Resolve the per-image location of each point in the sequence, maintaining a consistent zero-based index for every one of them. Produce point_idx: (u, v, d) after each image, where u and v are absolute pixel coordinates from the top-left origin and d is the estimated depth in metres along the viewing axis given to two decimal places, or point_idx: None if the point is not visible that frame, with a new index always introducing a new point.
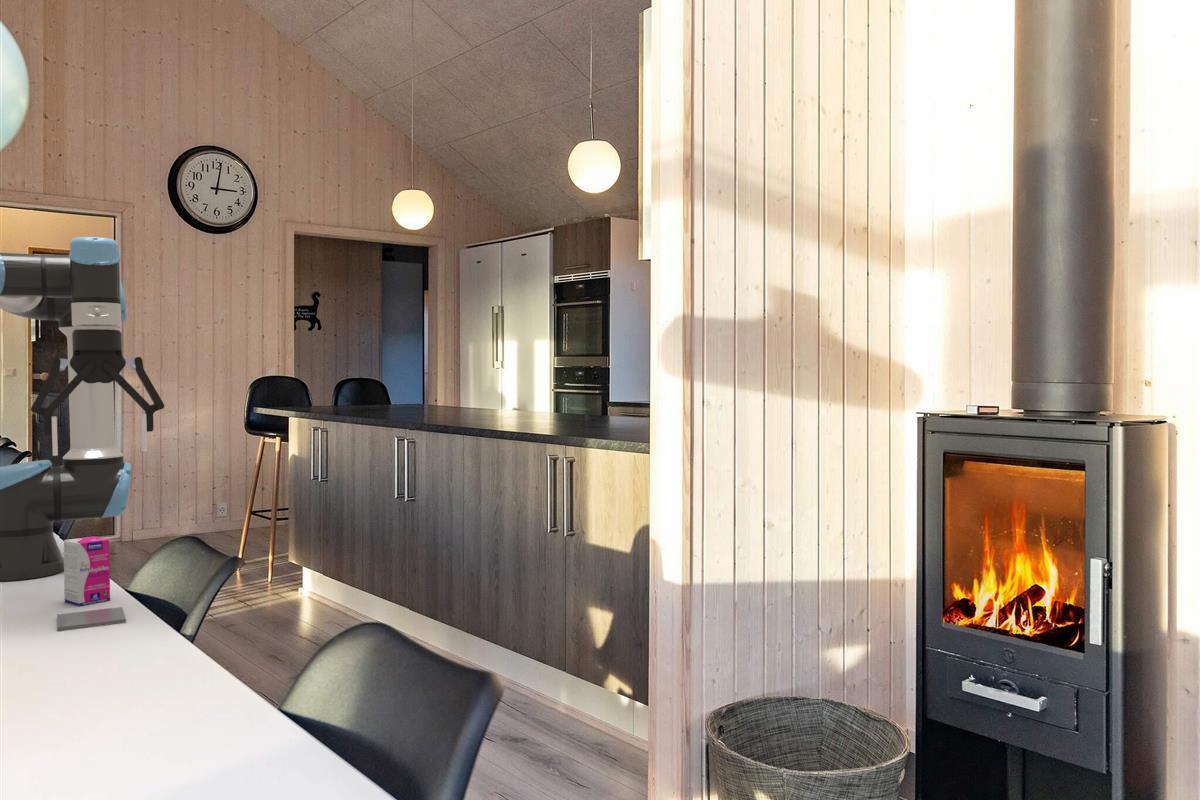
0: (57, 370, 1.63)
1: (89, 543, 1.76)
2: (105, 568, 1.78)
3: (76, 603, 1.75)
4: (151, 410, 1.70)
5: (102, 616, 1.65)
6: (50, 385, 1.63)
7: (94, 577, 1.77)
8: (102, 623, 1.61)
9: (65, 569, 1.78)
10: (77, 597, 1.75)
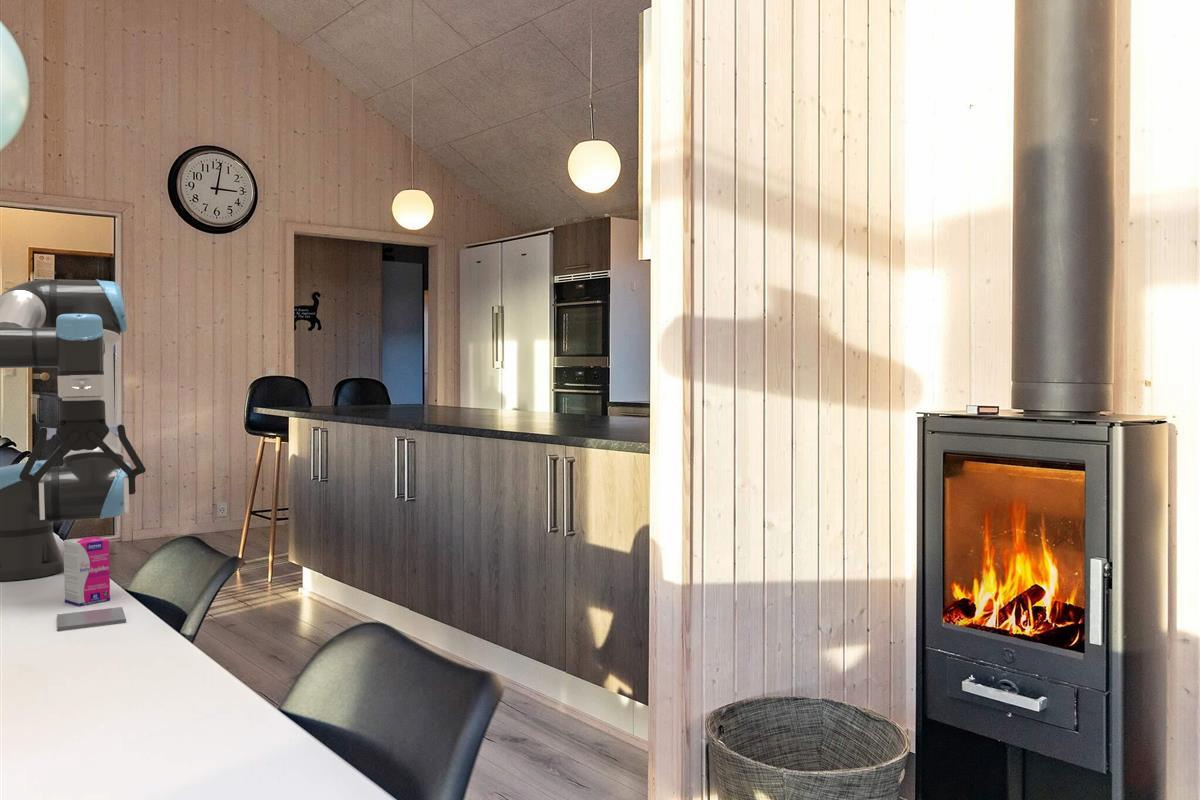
0: (44, 439, 1.74)
1: (89, 543, 1.76)
2: (105, 568, 1.78)
3: (76, 603, 1.75)
4: (133, 474, 1.80)
5: (102, 616, 1.65)
6: (37, 454, 1.73)
7: (94, 577, 1.77)
8: (102, 623, 1.61)
9: (65, 569, 1.78)
10: (77, 597, 1.75)
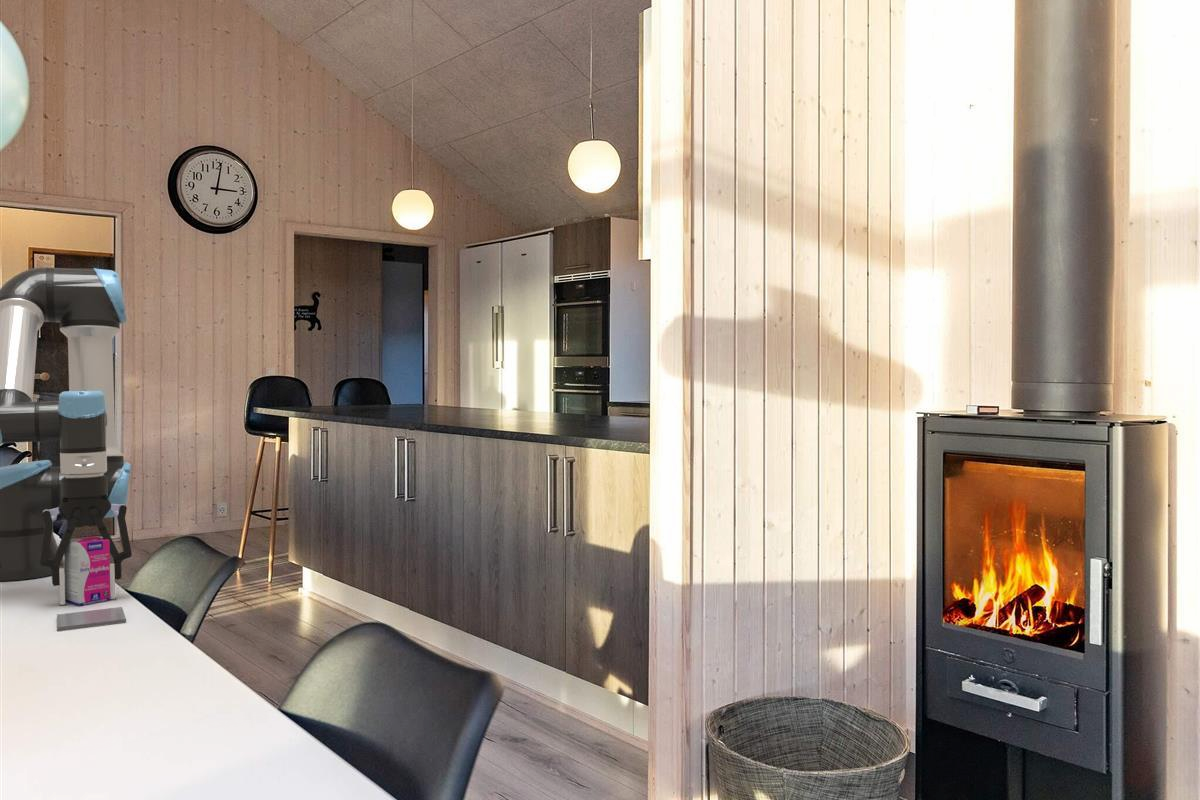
0: (50, 522, 1.74)
1: (89, 543, 1.76)
2: (105, 568, 1.78)
3: (76, 603, 1.75)
4: (119, 560, 1.79)
5: (102, 616, 1.65)
6: (49, 537, 1.74)
7: (94, 576, 1.77)
8: (102, 623, 1.61)
9: (65, 569, 1.78)
10: (77, 597, 1.75)
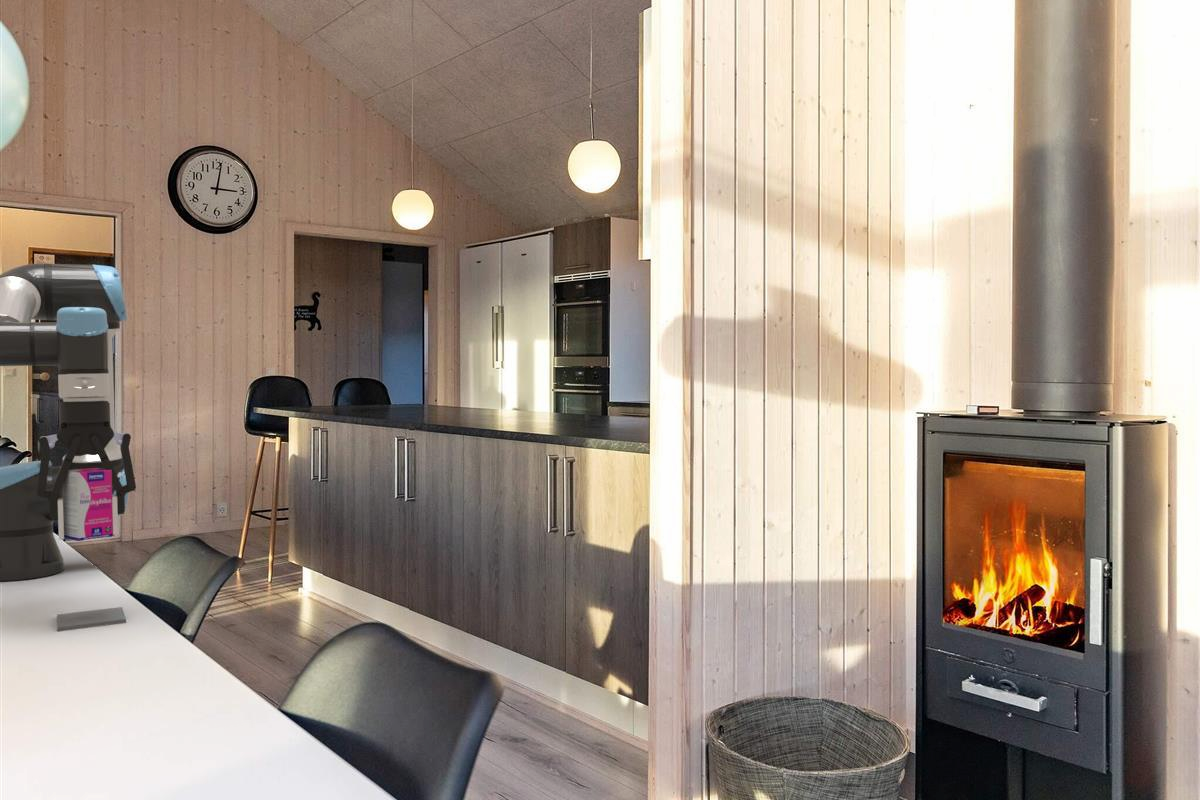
0: (48, 449, 1.60)
1: (90, 473, 1.62)
2: (107, 501, 1.64)
3: (76, 538, 1.61)
4: (122, 493, 1.65)
5: (102, 616, 1.65)
6: (46, 465, 1.60)
7: (95, 510, 1.62)
8: (102, 623, 1.61)
9: (64, 502, 1.63)
10: (77, 531, 1.61)
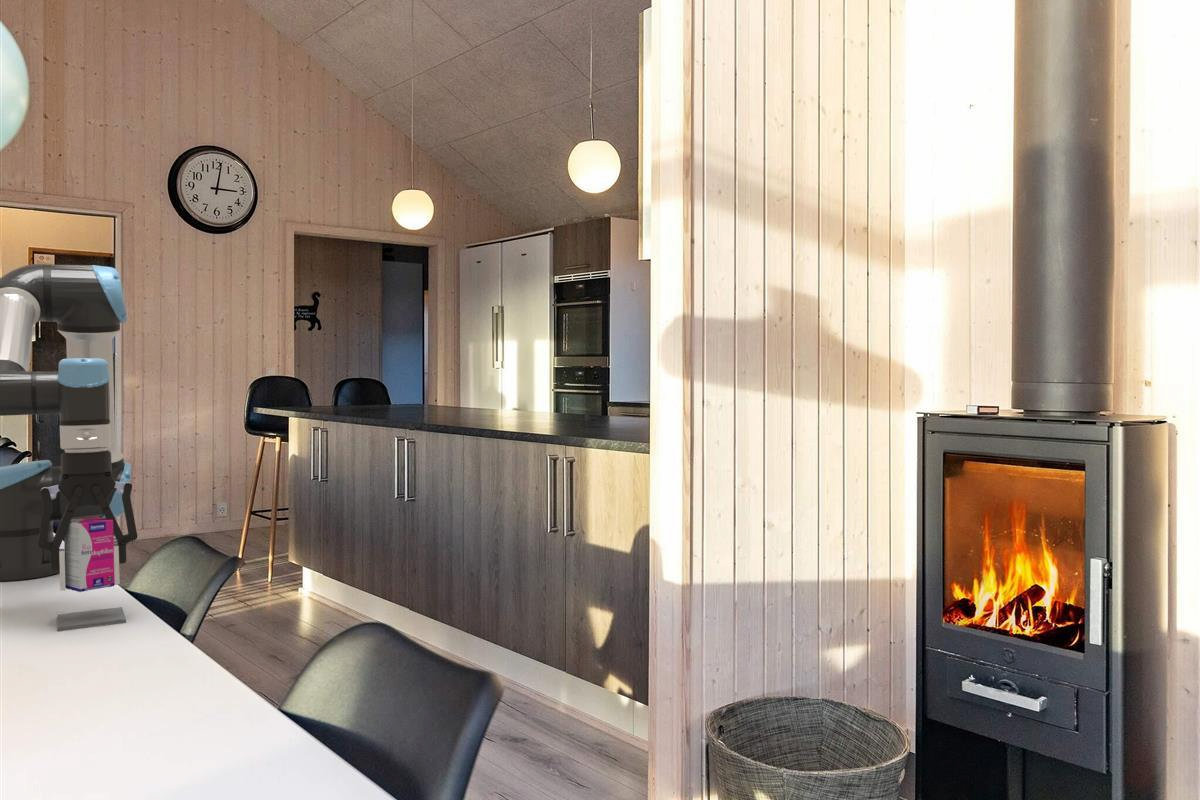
0: (49, 500, 1.60)
1: (91, 524, 1.62)
2: (109, 551, 1.64)
3: (78, 589, 1.61)
4: (123, 543, 1.65)
5: (102, 616, 1.65)
6: (48, 517, 1.60)
7: (97, 560, 1.63)
8: (102, 623, 1.61)
9: (65, 552, 1.63)
10: (78, 582, 1.61)
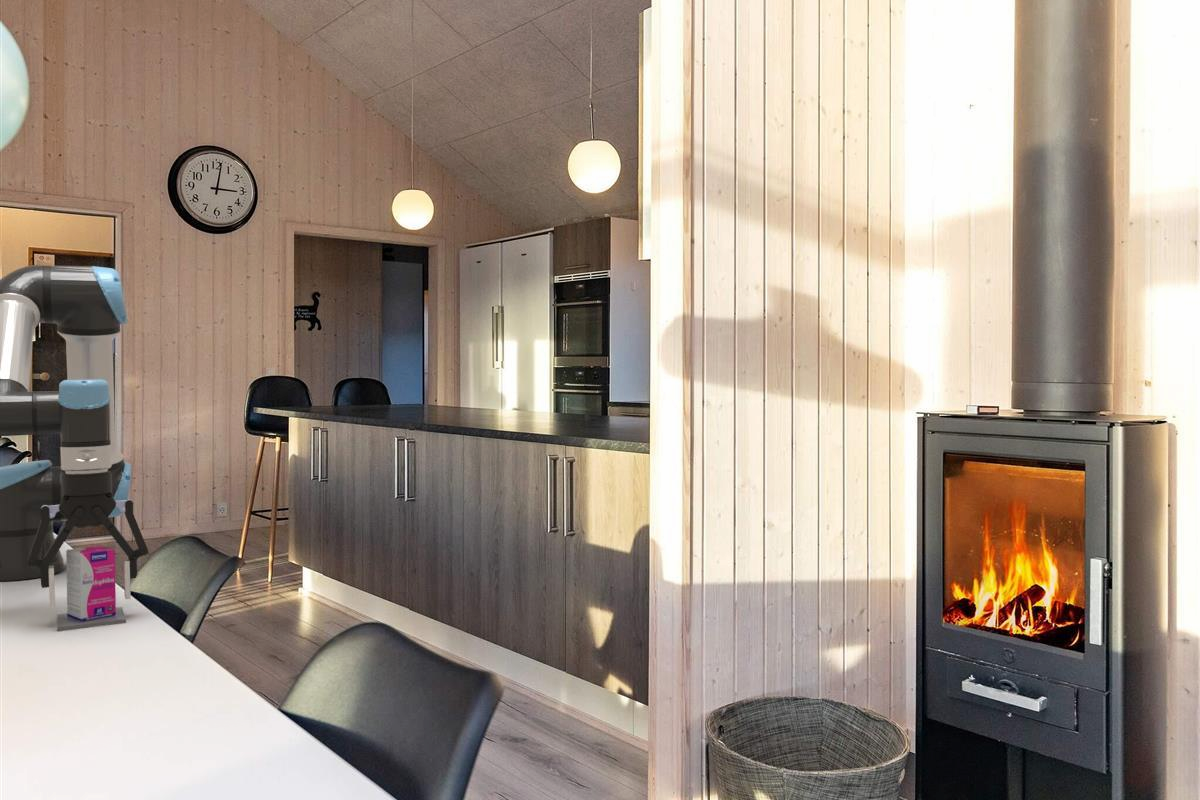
0: (47, 519, 1.60)
1: (92, 553, 1.62)
2: (110, 580, 1.64)
3: (79, 618, 1.62)
4: (134, 557, 1.66)
5: None
6: (43, 535, 1.60)
7: (98, 589, 1.63)
8: (102, 623, 1.61)
9: (68, 581, 1.64)
10: (80, 612, 1.61)
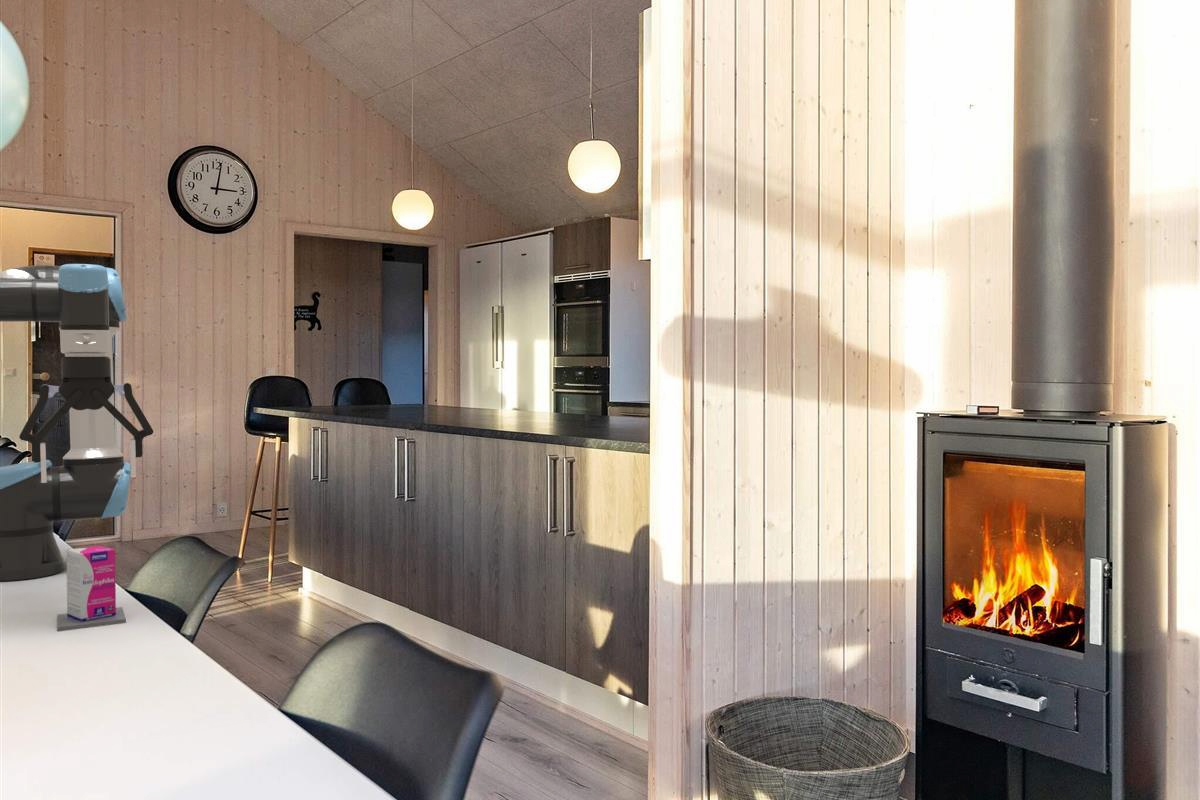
0: (46, 397, 1.63)
1: (93, 553, 1.62)
2: (110, 580, 1.64)
3: (79, 618, 1.62)
4: (140, 436, 1.70)
5: None
6: (39, 412, 1.63)
7: (98, 590, 1.63)
8: (102, 623, 1.61)
9: (68, 581, 1.64)
10: (80, 612, 1.61)
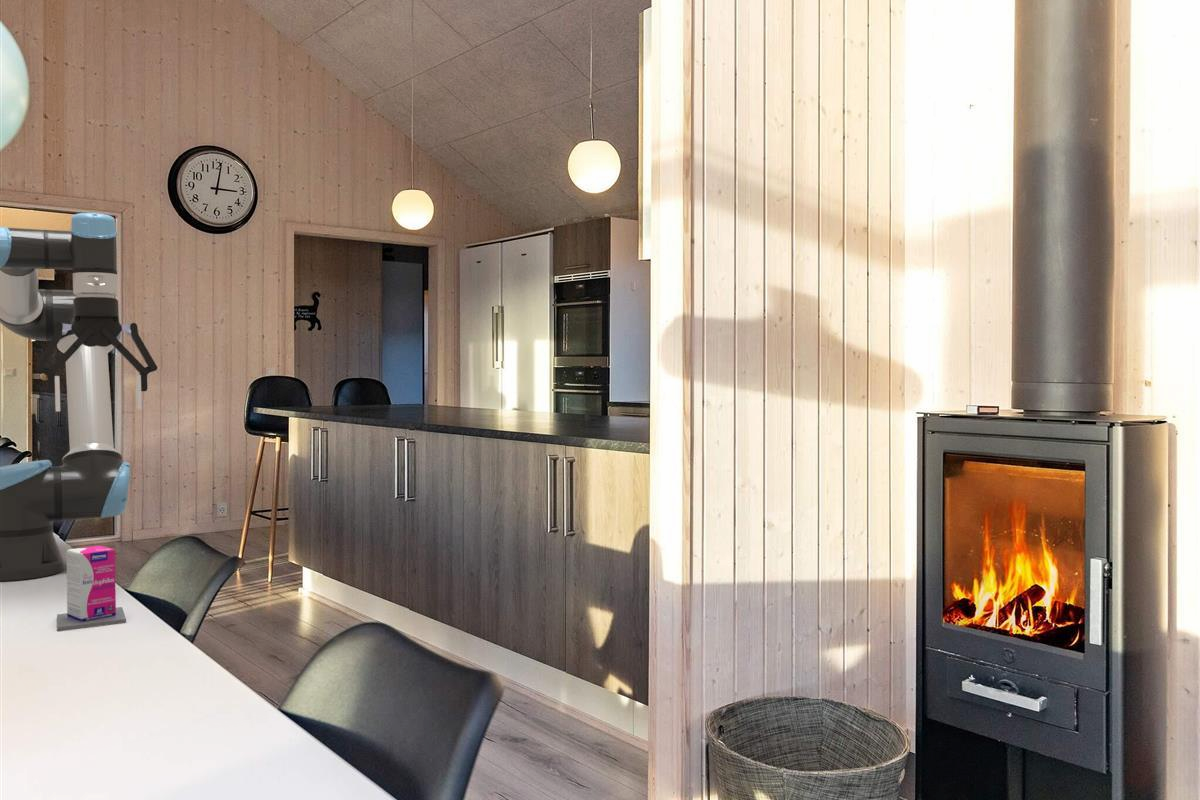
0: (60, 334, 1.80)
1: (93, 553, 1.62)
2: (110, 580, 1.64)
3: (79, 618, 1.62)
4: (145, 371, 1.86)
5: None
6: (53, 347, 1.79)
7: (98, 590, 1.63)
8: (102, 623, 1.61)
9: (68, 581, 1.64)
10: (80, 612, 1.61)
